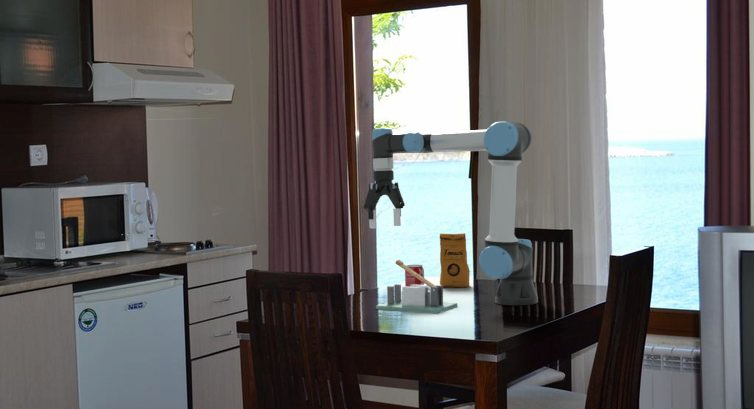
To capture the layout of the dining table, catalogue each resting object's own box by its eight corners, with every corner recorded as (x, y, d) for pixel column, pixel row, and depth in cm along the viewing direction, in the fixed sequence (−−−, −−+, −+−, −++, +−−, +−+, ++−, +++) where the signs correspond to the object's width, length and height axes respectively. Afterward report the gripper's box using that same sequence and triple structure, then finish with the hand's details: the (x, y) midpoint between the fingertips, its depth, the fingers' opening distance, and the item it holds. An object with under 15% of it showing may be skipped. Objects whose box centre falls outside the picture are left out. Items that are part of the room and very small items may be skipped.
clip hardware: (444, 308, 326) (443, 285, 326) (436, 310, 321) (435, 287, 320) (396, 304, 336) (396, 282, 336) (387, 307, 330) (387, 285, 330)
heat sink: (436, 303, 329) (436, 285, 329) (424, 307, 322) (424, 288, 321) (413, 302, 334) (413, 284, 334) (402, 305, 326) (401, 287, 326)
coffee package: (468, 288, 375) (467, 234, 374) (437, 288, 378) (436, 234, 377) (471, 285, 385) (470, 232, 384) (441, 284, 388) (440, 232, 387)
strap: (435, 288, 325) (437, 285, 325) (433, 289, 323) (434, 286, 323) (397, 262, 332) (399, 259, 332) (395, 263, 331) (396, 260, 330)
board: (457, 306, 329) (457, 303, 329) (437, 313, 315) (437, 309, 315) (397, 302, 341) (397, 299, 341) (376, 309, 327) (376, 305, 327)
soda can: (423, 301, 342) (422, 266, 342) (404, 301, 344) (403, 266, 343) (426, 298, 349) (425, 264, 349) (407, 298, 351) (406, 264, 350)
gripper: (397, 169, 357) (399, 224, 357) (352, 171, 338) (354, 229, 339) (412, 169, 352) (414, 224, 352) (367, 170, 333) (370, 229, 334)
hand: (385, 227), depth 346 cm, fingers open, 13 cm apart
